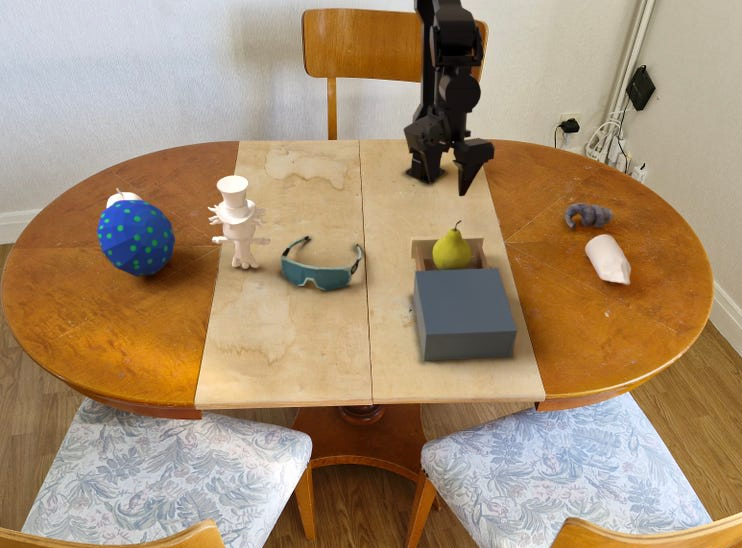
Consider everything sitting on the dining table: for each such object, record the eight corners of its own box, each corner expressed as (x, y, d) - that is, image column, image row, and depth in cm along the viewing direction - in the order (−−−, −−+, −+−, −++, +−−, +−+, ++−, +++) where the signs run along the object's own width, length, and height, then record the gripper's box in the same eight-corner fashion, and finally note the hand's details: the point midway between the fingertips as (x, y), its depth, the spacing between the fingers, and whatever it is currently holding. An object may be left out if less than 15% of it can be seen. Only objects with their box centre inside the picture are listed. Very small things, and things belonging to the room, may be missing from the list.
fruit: (426, 260, 128) (431, 205, 119) (462, 255, 129) (469, 201, 120) (437, 284, 123) (442, 229, 114) (473, 279, 124) (482, 224, 116)
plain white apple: (125, 210, 139) (114, 176, 134) (155, 218, 138) (146, 183, 132) (104, 230, 135) (92, 195, 129) (136, 238, 133) (125, 203, 128)
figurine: (213, 280, 125) (196, 196, 112) (221, 254, 131) (205, 170, 118) (271, 282, 125) (260, 198, 112) (276, 256, 131) (267, 172, 118)
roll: (603, 299, 124) (611, 275, 120) (581, 258, 132) (588, 234, 128) (635, 297, 125) (644, 273, 121) (611, 256, 133) (619, 232, 129)
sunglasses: (272, 284, 125) (271, 260, 122) (298, 244, 136) (297, 222, 133) (347, 297, 123) (348, 273, 120) (367, 256, 134) (368, 233, 131)
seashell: (561, 232, 140) (608, 231, 141) (571, 224, 135) (620, 224, 136) (559, 206, 140) (607, 206, 141) (569, 198, 135) (618, 197, 136)
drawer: (409, 250, 131) (410, 232, 128) (478, 248, 132) (481, 230, 129) (418, 306, 121) (420, 288, 117) (494, 303, 122) (497, 285, 118)
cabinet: (413, 297, 124) (415, 270, 119) (493, 294, 125) (498, 267, 120) (423, 360, 113) (426, 334, 109) (511, 356, 114) (517, 330, 110)
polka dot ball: (98, 198, 129) (139, 171, 119) (158, 246, 137) (202, 224, 127) (60, 254, 122) (102, 231, 112) (127, 302, 130) (170, 284, 120)
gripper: (382, 95, 121) (382, 182, 129) (445, 116, 107) (440, 212, 116) (434, 88, 126) (431, 173, 134) (500, 107, 112) (492, 200, 121)
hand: (446, 188), depth 126 cm, fingers open, 9 cm apart
